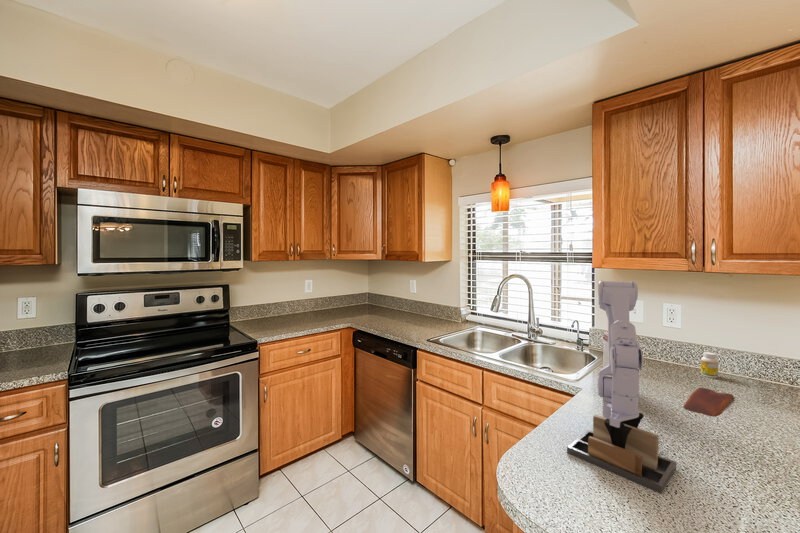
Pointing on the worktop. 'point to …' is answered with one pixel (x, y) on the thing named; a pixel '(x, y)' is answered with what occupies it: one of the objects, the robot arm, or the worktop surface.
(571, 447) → the rack
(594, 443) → the oak offcuts
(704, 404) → the reddish brown cloth
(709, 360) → the supplement bottle
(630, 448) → the birch sheet
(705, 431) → the worktop surface
